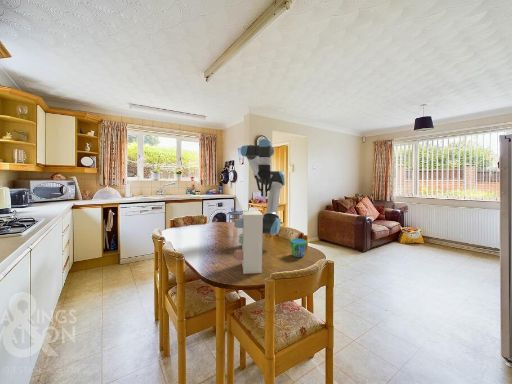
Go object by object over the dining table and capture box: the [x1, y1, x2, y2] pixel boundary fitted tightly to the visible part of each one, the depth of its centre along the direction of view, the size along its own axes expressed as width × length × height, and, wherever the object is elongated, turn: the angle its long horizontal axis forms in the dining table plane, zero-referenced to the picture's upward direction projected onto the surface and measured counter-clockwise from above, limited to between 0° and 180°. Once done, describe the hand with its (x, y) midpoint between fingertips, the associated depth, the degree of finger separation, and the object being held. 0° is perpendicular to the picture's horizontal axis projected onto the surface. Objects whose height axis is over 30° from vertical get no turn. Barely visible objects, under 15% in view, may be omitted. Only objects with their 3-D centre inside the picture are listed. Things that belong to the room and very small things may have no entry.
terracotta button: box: [233, 249, 243, 261], centre depth 127 cm, size 5×4×4 cm
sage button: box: [238, 233, 243, 245], centre depth 126 cm, size 5×4×4 cm
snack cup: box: [289, 238, 308, 258], centre depth 149 cm, size 16×10×10 cm
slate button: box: [233, 218, 243, 229], centre depth 125 cm, size 5×4×4 cm
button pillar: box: [241, 210, 264, 275], centre depth 127 cm, size 10×14×32 cm
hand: (264, 201), depth 143 cm, fingers closed
